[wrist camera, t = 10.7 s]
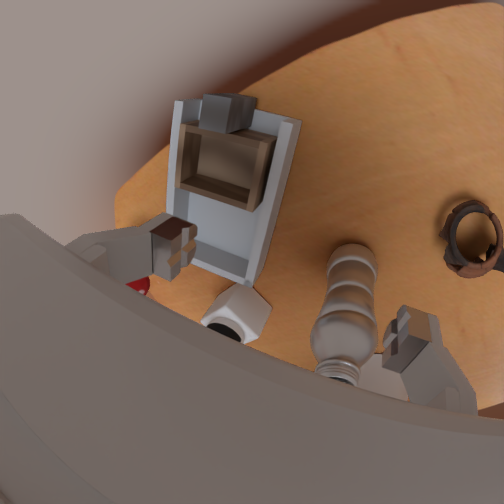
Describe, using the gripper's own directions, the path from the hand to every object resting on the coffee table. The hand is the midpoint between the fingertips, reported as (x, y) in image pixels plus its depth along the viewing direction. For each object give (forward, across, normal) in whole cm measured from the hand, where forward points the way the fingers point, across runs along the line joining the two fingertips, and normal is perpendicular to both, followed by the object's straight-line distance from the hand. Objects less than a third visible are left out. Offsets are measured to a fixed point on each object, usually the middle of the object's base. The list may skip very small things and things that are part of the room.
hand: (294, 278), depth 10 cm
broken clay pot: (+26, -20, +2) cm, 32 cm away
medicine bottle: (+25, +8, +27) cm, 38 cm away
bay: (+24, +13, +8) cm, 29 cm away
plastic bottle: (+25, -5, +12) cm, 29 cm away
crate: (+23, +13, +1) cm, 26 cm away
